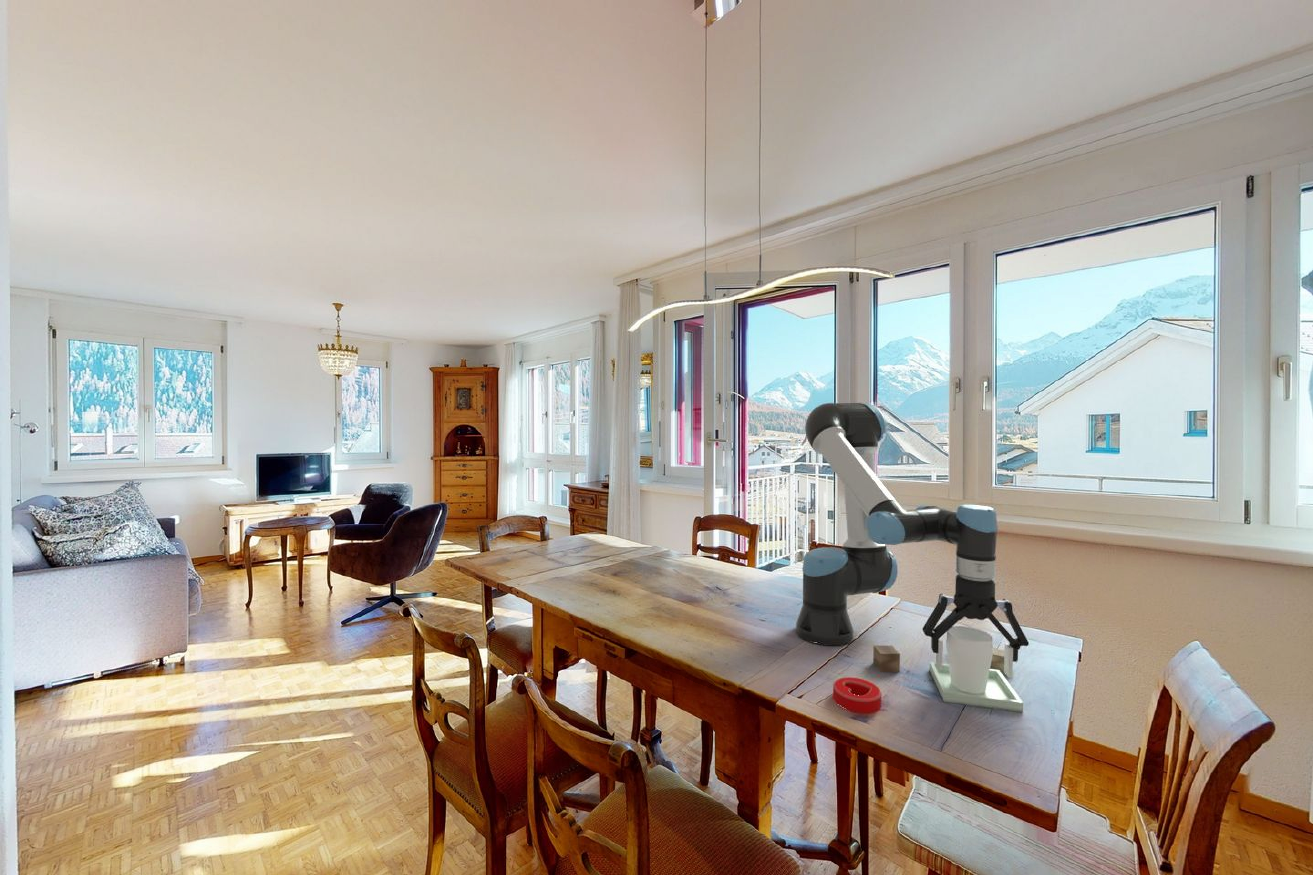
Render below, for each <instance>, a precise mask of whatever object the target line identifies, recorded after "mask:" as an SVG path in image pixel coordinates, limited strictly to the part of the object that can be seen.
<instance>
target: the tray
mask: <svg viewBox="0 0 1313 875" xmlns="http://www.w3.org/2000/svg"><path fill="white" fill-rule="evenodd" d="M928 669H929V672H930V675H931V677H932V679H933V681H934V683H935V685H936V687H937V690H938V692H939V695H940V697H941V699H942V701H943V702H945V703H950V704H956V705H957V704H958V705H965V706H971V707H980V708H981V707H982V708H987V709H995V710H1003V711H1010V712H1017V713H1018V712H1019V713H1024V702H1023V701H1022V699H1021V697H1019V695H1018V694H1017V692H1016V691H1015V689H1014V688H1013V687H1012V686H1011V684H1010V683H1009V681H1008V680H1007V679H1006V677H1005V676H1004V673H1002V672H1000V670H995V669H990V671H989V676H988V681H987V686H986V691H985V692H984V693H982V694H970V693H966V692H962V691H960V690H958V689H956V688H955V687H954V686H953V685H952V684H951V678H950V671H949V663H943V662H942V670H939V669H938V667H937V665H936V662H934V661H929V668H928Z"/></svg>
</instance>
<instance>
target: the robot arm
mask: <svg viewBox="0 0 1313 875" xmlns="http://www.w3.org/2000/svg"><path fill="white" fill-rule="evenodd" d="M804 430H805V436H806V440H807V442H808V444H809V446H810V447H811V448H812V450H813V451H814V452H815V453H816V454H818V455H822V457H823V458H824V460H825V461H826V462H827V464H828V465H829V466H830V468H831V469H832V470H833V472H834V474H836V476H837V477H838V478H839V480H840V481H841V483H842V484H843V489H844V491H843V492H844V504H845V516H846V517H845V519H846V530H847V531H846V532H847V539H846V540H845V541H844V542H843V544H842V548H840V547H834V546H832V547H831V546H830V547H827V546H825V547H823V546H822V547H817V548H814V549H811V550H809V551H808V552H806V553H805V554H804V556H803V562H802V563H803V564H802V605H801V609H800V612H799V614H798V617H797V620H796V624H795V632H796V634H797V636H798V637H800V638H801V639H802V640H805V641H806V640H807V642H809V641H812V642H817V643H819V644H818V645H821V644H826V645H825V646H830V645H836V646H843V645H842V644H844V645H846V643H847V644H849V643H851V642H852V641H853V639H854V628H853V625H852V622H851V619H850V615H849V612H848V610H847V609H848V607H847V604H848V603H847V602H848V600H847V598H848V597H849V596H855V595H862V594H871V593H872V594H877V593H879V592H884V591H888V590H889V589H890V588H892V586H893V585H895V582H896V581H897V578H898V575H899V574H898V572H899V571H898V569H899V568H898V567H899V566H898V563H897V560H896V558H894V557H895V555H894V554H893V553H892V552H891V551H890V550H888V549H887V545H888V546H896V545H900V544H909V543H925V542H932V541H934V542H935V541H941V542H944V543H947V544H953V545H955V548H956V549H955V554H956V555H955V573H957V574H956V575H955V586H954V588H955V590H954V591H955V593H954V596H948V595H945V594H944V593H940V594H939V595H938V601H937V604H936V606H935V607H934V609H933V611H931V613H930V615H929V617H928V619H927V620H926V622H925V623H924V625H923V627H922V632H923V634H924V635H925V636H926V637H930V638H931V640H930V641H931V642H930V644H931V645H930V649H931V651H932V653H934V654H935V663H936V665H937V667H938V669H939V670H942V663H943V658H944V657H943V650H944V642H943V638H942V637H943V636H944V635H945V634H947V631H948V630H949V629H950V628H951V627H953V626H955V624H957V623H958V622H959V621H961V620H963V619H964V618H966V619H969V620H979V621H984V620H986V619H988V620H989V621H990V622H991V623H992V624H993V625H994V627H995V628H996V629H997V630H998V631H999V633H1001V635H1003V637H1004V638H1005V639H1006V640H1007V641H1008V642H1005V643H1004V651H1005V655H1004V673H1003V674H1004V675H1006V678H1009V679H1013V670H1014V667H1013V666H1014V663H1017V662H1018V661H1019V650H1020V649H1021V647H1023V646H1024V647H1028V646H1029V645H1030V644H1029V641H1028V639H1027V637H1026V635H1025V633H1024V631H1023V629H1022V628H1021V625H1020V624H1019V622H1018V620H1017V618H1016V616H1015V614H1014V611H1013V604H1012V602H1011V601H1009V599H1007V598H1002V599H1001V600H996V580H995V578H996V572H997V571H996V566H997V565H996V564H997V563H996V562H997V561H996V560H997V555H996V552H997V551H996V548H997V535H998V529H999V528H998V521H997V520H998V519H997V512H996V510H995V509H994V508H993V507H991V506H986V505H977V504H961V505H959V506H957V510H952V509H946V508H943V507H938V506H937V505H925V504H923V505H920V506H918V507H917V508H915V509H903V507H902V506H901V505H900V504H899V503H898V502H897V500H896V499H895V497H893V495H892V494H891V493H890V491H889V490H888V489H887V488H886V487H885V486H884V484H883V482H881V481H880V479H879V478H878V477H877V475H876V473H875V472H876V471H875V463H874V462H875V461H874V453H875V452H877V450H878V449H879V442H880V441H882V440H883V438H884V436H885V434H886V430H887V425H886V420H885V417H884V415H883V413H882V410H880V409H879V408H878V407H877V406H875V405H873V404H870V403H864V402H849V403H848V402H844V403H843V402H841V403H840V402H839V403H837V402H835V403H834V402H827V403H822V404H819V405H818V406H816V407H815V408H814V409H813V410H812V411H811V412H810V413H809V414H808V416H807V419H806V421H805V424H804ZM952 603H953V604H954V606H955V608H954V609H952V611H951V612H950V613H949V614H948V615H947V616H946V617H945V618H944V619H943V620H942V621H941V622H940V620H941V618H942V616H943V615H944V613H945V611H946V609H947V607H949V606H950V605H951V604H952ZM998 607H999V609H1000V610H1001V612H1003V614H1004V615H1005V616H1006V619H1007V621H1008V622H1009V625H1010V626H1011V629H1012V631H1013V632H1014V634H1015V636H1016V638H1014V637H1013V636H1012V635H1011V633H1010V632H1009V631H1008V630H1007V629H1006V628H1005V626H1003V624H1001V622H1000V621H999V620H998V619H997V618H996V617H995V615H994V614H993V612H994V611H995V610H996V609H997V608H998ZM939 622H940V623H939ZM812 642H811V643H812ZM1013 662H1014V663H1013Z"/></svg>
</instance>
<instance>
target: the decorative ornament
mask: <svg viewBox="0 0 1313 875" xmlns="http://www.w3.org/2000/svg"><path fill="white" fill-rule="evenodd" d="M854 694H855V695H854ZM858 695H859V696H858ZM833 698H834V699H833ZM832 699H833V701H834V700H835V701H836V703H837V704H839V705H841V706H842V707H844V708H846V709H847V710H846V709H845V710H846V711H848V710H849V711H848V712H851V711H852V713H855V712H856V714H865V715H868V714H874V713H877V712H878V711H880V710H881V708H882V691H881V689H880V687H878V686H877V685H876V684H874V683H873V682H871V681H869V680H866V679H864V678H858V677H850V676H849V677H842V678H839V679H836V680H835V681H834V682H833V685H832ZM835 701H834V702H835ZM836 703H835V704H836ZM837 704H836V705H837ZM839 705H838V706H839ZM842 707H841V708H842Z"/></svg>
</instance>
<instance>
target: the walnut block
mask: <svg viewBox="0 0 1313 875" xmlns="http://www.w3.org/2000/svg"><path fill="white" fill-rule="evenodd" d="M872 655H873V660H872V661H873V662H872V663H873V665H874V666H875V667H876V668H877V670H878V671H879V673H900V672H901V670H900V667H901V666H900V665H901V653H900V652H899V651H898V650H897V649H896V648H895V647H894V646H893V645H876V644H875V645H873V654H872Z"/></svg>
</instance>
